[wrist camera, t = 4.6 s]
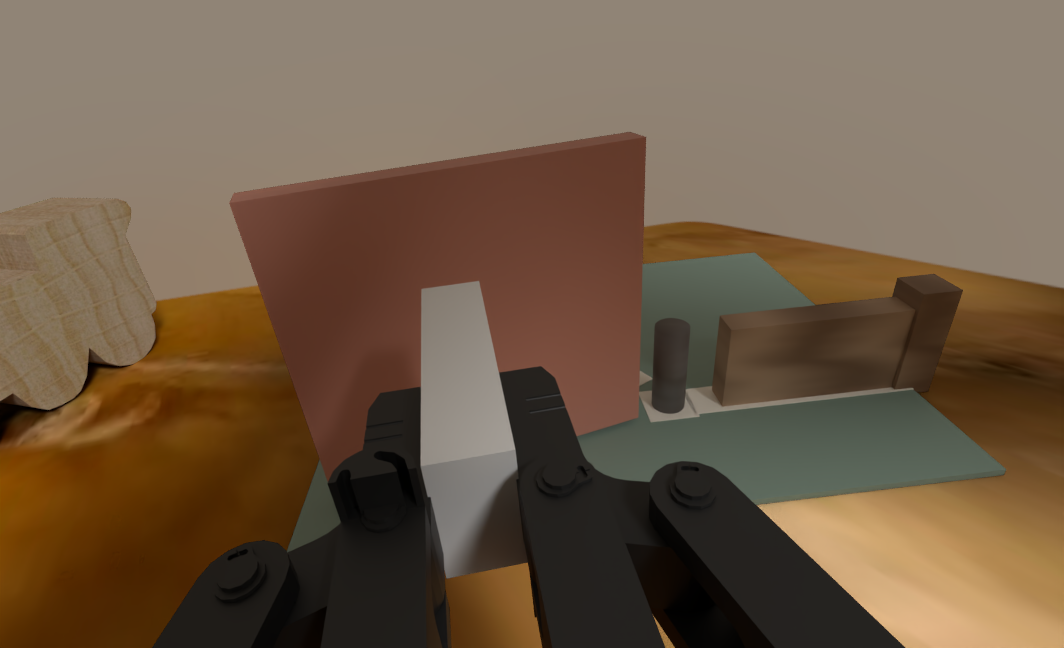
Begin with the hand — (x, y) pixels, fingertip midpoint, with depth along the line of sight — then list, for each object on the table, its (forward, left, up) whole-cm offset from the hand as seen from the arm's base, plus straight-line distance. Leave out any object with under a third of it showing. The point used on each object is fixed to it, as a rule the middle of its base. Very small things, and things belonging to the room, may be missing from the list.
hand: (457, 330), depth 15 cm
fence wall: (-15, -9, -11) cm, 20 cm away
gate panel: (0, -6, -10) cm, 12 cm away
